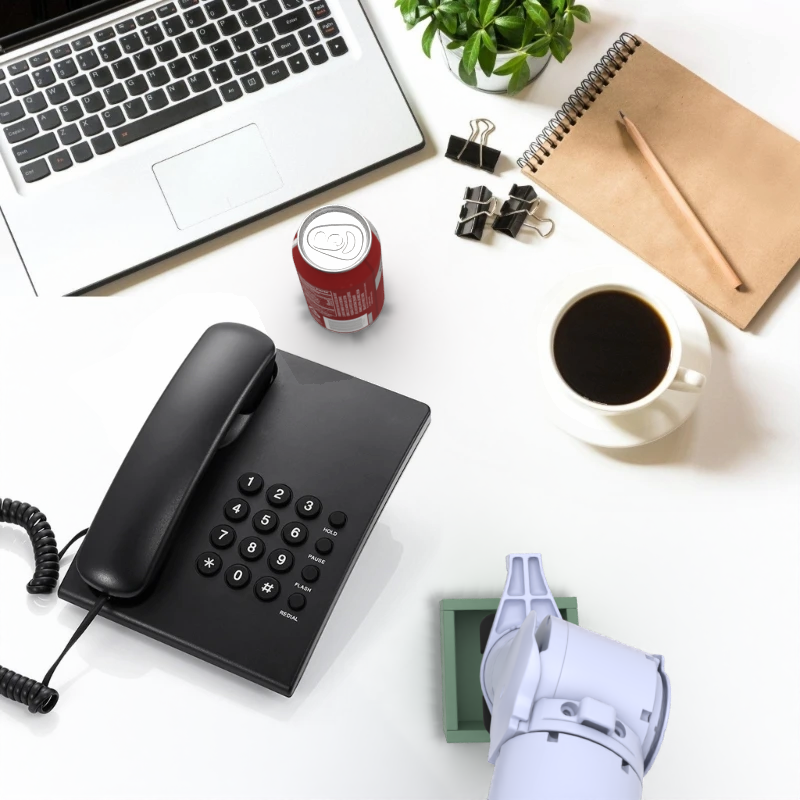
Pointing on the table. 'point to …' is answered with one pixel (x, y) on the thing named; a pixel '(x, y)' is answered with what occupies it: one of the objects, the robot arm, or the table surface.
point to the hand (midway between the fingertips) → (512, 668)
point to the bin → (470, 663)
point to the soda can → (340, 268)
